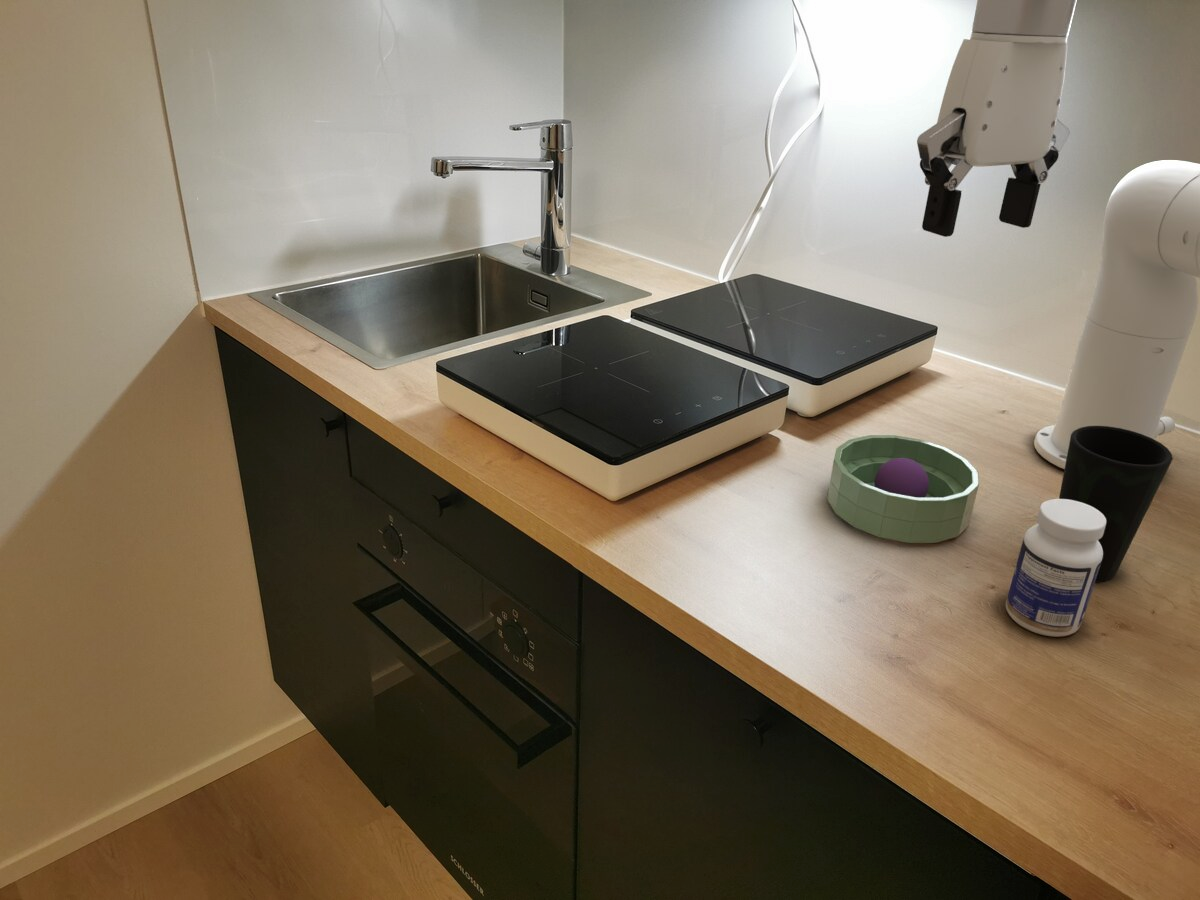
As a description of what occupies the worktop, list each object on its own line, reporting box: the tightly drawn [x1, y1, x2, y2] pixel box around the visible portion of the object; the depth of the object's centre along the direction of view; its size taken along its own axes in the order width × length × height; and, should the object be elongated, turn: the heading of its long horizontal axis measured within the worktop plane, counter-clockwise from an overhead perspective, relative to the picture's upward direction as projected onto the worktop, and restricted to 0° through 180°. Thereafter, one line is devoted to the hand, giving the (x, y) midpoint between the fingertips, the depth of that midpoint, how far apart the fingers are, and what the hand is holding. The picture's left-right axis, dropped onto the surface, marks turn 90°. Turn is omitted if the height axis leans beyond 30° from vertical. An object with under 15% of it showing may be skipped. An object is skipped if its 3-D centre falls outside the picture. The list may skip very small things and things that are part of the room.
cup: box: [1058, 426, 1174, 583], centre depth 79 cm, size 8×8×12 cm
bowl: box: [826, 434, 980, 544], centre depth 88 cm, size 13×13×5 cm
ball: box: [874, 458, 929, 498], centre depth 88 cm, size 5×5×5 cm
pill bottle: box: [1005, 498, 1106, 638], centre depth 72 cm, size 6×6×10 cm
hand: (976, 228), depth 83 cm, fingers open, 9 cm apart
